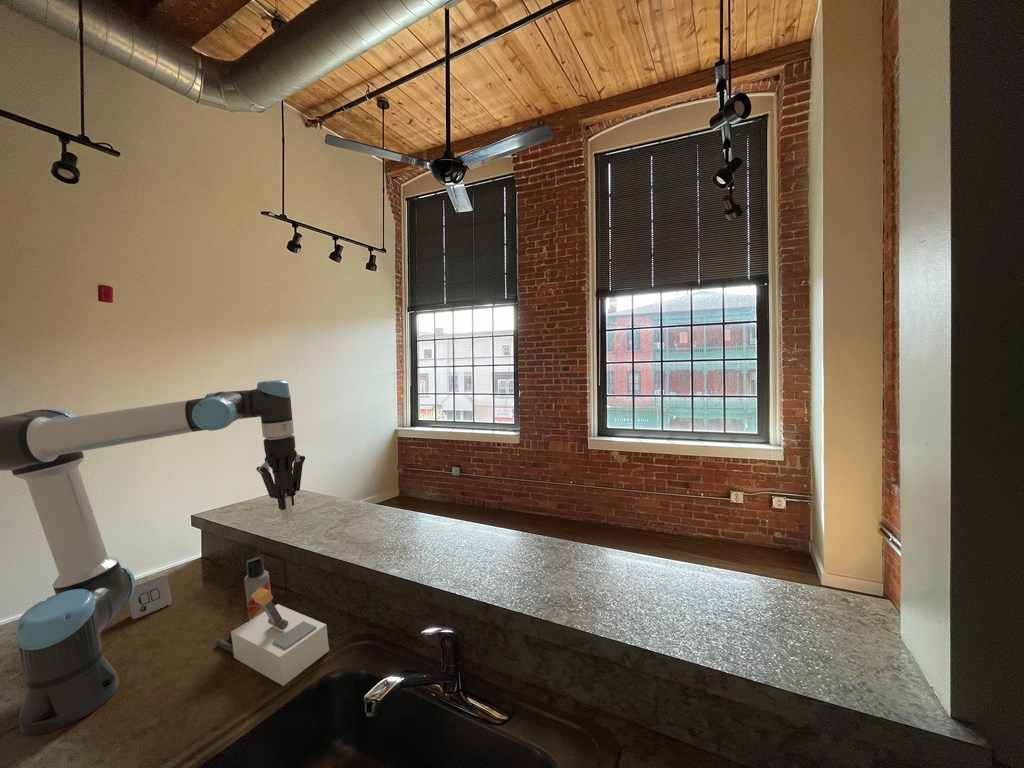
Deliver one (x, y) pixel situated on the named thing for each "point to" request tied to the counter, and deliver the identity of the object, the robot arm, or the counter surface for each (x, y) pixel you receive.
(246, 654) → the block
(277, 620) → the lever
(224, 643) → the parallel rod pair
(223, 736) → the counter surface
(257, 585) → the lotion bottle
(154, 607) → the electrical switch
